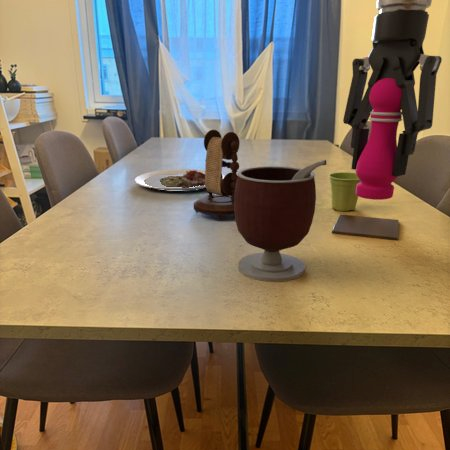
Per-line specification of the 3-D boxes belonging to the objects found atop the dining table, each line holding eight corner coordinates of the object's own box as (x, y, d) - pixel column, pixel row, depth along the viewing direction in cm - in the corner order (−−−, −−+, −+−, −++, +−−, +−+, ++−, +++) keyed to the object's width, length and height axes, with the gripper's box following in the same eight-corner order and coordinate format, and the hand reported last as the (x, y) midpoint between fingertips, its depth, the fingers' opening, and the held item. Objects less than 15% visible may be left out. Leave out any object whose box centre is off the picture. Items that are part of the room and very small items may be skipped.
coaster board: (398, 222, 105) (398, 219, 104) (397, 240, 93) (397, 237, 93) (339, 216, 109) (339, 214, 109) (331, 233, 97) (331, 230, 97)
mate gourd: (219, 271, 78) (217, 157, 69) (257, 249, 88) (260, 146, 79) (297, 292, 70) (307, 166, 61) (329, 265, 81) (342, 153, 71)
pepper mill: (373, 188, 80) (391, 66, 71) (404, 197, 74) (429, 65, 65) (343, 193, 77) (359, 66, 68) (374, 202, 71) (396, 64, 62)
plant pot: (323, 211, 113) (326, 177, 109) (327, 202, 121) (330, 171, 117) (360, 214, 110) (365, 180, 106) (362, 205, 118) (366, 173, 114)
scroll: (182, 212, 113) (178, 130, 104) (225, 202, 121) (225, 126, 112) (218, 225, 103) (217, 136, 94) (262, 213, 111) (265, 131, 102)
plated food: (118, 190, 134) (116, 179, 133) (159, 172, 160) (158, 163, 158) (209, 197, 126) (208, 186, 125) (237, 177, 152) (237, 167, 150)
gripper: (330, 16, 68) (316, 166, 78) (460, 0, 54) (422, 184, 65) (358, 19, 72) (341, 161, 83) (485, 5, 58) (446, 177, 69)
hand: (377, 171), depth 74 cm, fingers closed on pepper mill, 7 cm apart
